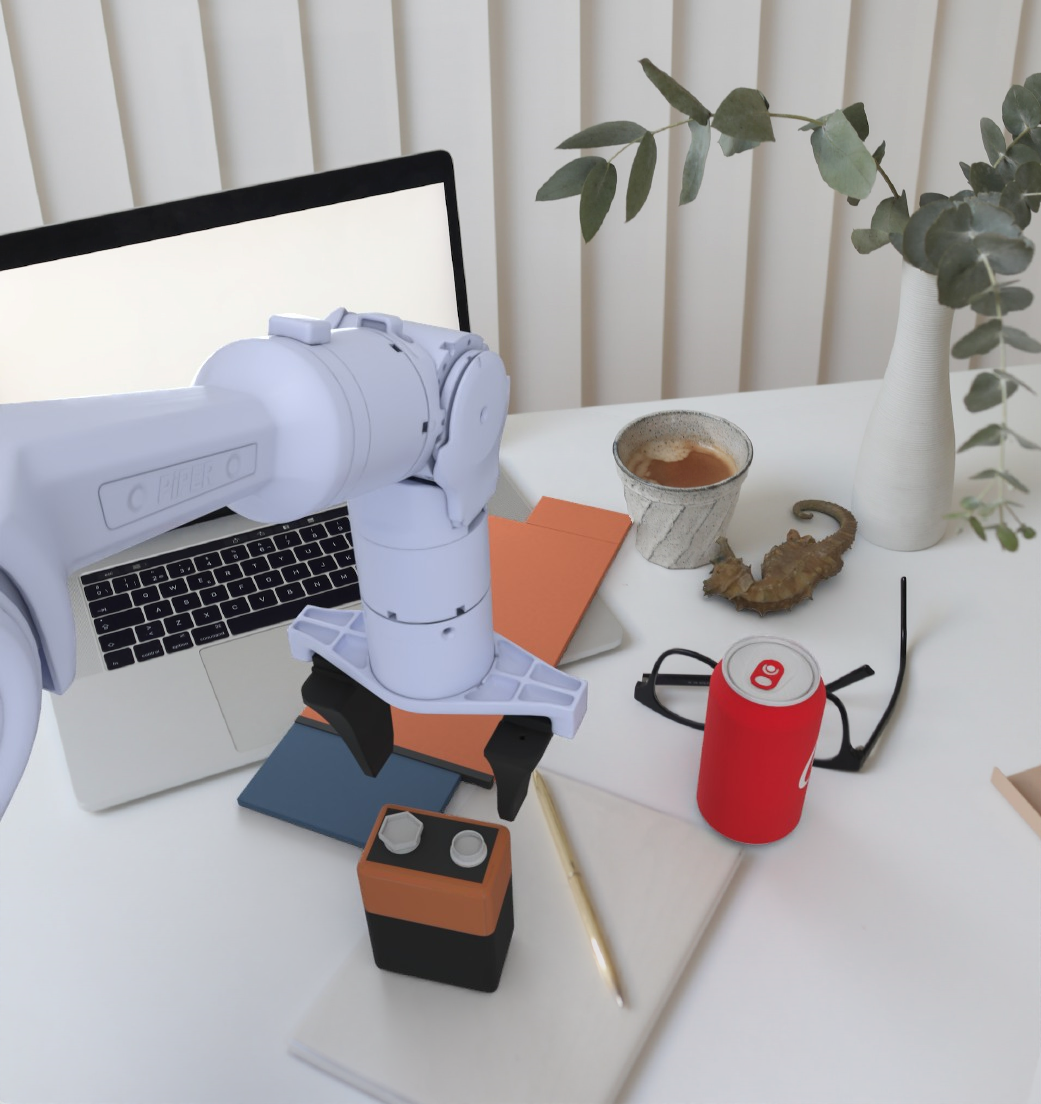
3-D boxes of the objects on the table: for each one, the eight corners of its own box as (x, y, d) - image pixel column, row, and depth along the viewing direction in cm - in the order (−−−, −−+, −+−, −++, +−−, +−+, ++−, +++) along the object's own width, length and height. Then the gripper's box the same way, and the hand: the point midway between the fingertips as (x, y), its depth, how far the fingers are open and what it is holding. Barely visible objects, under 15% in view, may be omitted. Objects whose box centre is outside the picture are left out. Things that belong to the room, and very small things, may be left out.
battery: (399, 901, 60) (380, 787, 54) (516, 925, 59) (511, 811, 53) (372, 971, 57) (350, 858, 51) (496, 999, 56) (488, 886, 49)
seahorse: (904, 553, 83) (912, 521, 81) (755, 640, 76) (760, 608, 74) (813, 499, 89) (819, 468, 87) (668, 575, 82) (670, 543, 80)
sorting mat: (444, 877, 61) (443, 870, 61) (237, 805, 66) (235, 797, 65) (634, 521, 87) (634, 514, 87) (477, 486, 91) (476, 479, 91)
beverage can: (815, 795, 65) (848, 653, 58) (776, 869, 61) (807, 727, 54) (720, 754, 68) (740, 613, 60) (677, 822, 64) (693, 681, 56)
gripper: (613, 563, 47) (604, 766, 56) (326, 496, 52) (358, 694, 60) (556, 669, 42) (556, 875, 51) (244, 584, 47) (291, 787, 55)
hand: (444, 783), depth 55 cm, fingers open, 7 cm apart
